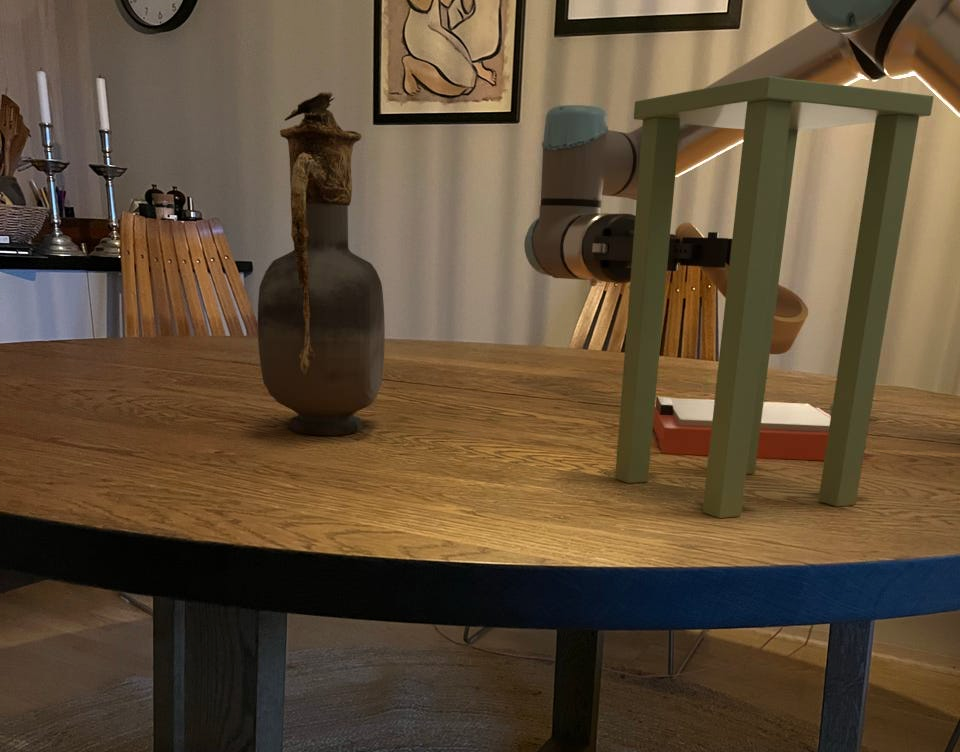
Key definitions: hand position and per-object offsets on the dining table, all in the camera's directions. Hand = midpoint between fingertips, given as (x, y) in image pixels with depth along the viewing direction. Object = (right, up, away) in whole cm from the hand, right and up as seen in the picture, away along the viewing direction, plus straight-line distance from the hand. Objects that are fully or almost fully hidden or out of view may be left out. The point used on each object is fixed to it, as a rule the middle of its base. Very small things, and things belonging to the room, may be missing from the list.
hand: (735, 253), depth 101 cm
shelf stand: (-5, -26, -19) cm, 33 cm away
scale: (+2, -18, +3) cm, 18 cm away
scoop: (-1, -3, +2) cm, 4 cm away
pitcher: (-41, -18, +1) cm, 44 cm away
